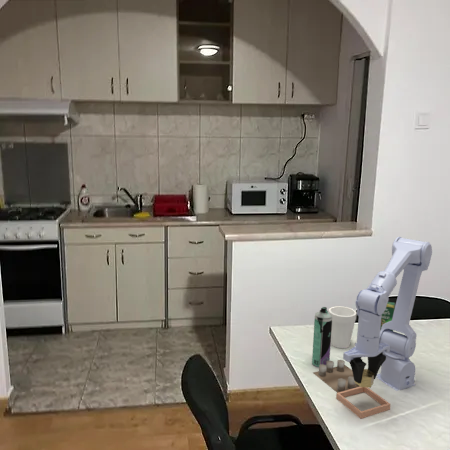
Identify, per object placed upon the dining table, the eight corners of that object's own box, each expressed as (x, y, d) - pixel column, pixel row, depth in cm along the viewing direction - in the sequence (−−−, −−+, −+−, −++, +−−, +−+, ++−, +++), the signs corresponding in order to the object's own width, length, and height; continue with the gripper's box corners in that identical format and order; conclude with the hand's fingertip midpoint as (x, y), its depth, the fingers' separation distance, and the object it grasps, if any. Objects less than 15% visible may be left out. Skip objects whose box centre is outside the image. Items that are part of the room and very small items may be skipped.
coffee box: (369, 334, 173) (372, 301, 170) (370, 331, 175) (373, 298, 172) (391, 338, 169) (394, 305, 166) (392, 335, 171) (396, 302, 169)
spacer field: (372, 386, 137) (373, 375, 137) (338, 395, 132) (339, 384, 131) (344, 366, 149) (345, 356, 148) (312, 374, 144) (313, 363, 143)
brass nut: (363, 376, 129) (364, 367, 129) (376, 385, 125) (377, 375, 124) (351, 380, 128) (352, 370, 127) (364, 389, 123) (365, 379, 123)
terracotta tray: (389, 411, 125) (390, 404, 125) (360, 420, 121) (361, 413, 121) (364, 391, 134) (364, 385, 134) (335, 400, 130) (336, 393, 130)
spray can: (329, 370, 146) (333, 311, 142) (311, 368, 147) (315, 310, 143) (328, 362, 151) (332, 305, 147) (312, 360, 152) (315, 303, 148)
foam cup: (356, 352, 158) (359, 317, 155) (329, 351, 158) (332, 316, 156) (349, 340, 167) (352, 306, 165) (324, 339, 168) (326, 305, 165)
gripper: (378, 323, 130) (374, 367, 133) (337, 332, 124) (334, 378, 127) (397, 333, 124) (392, 379, 126) (354, 343, 118) (351, 391, 120)
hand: (364, 379), depth 126 cm, fingers closed on brass nut, 4 cm apart
